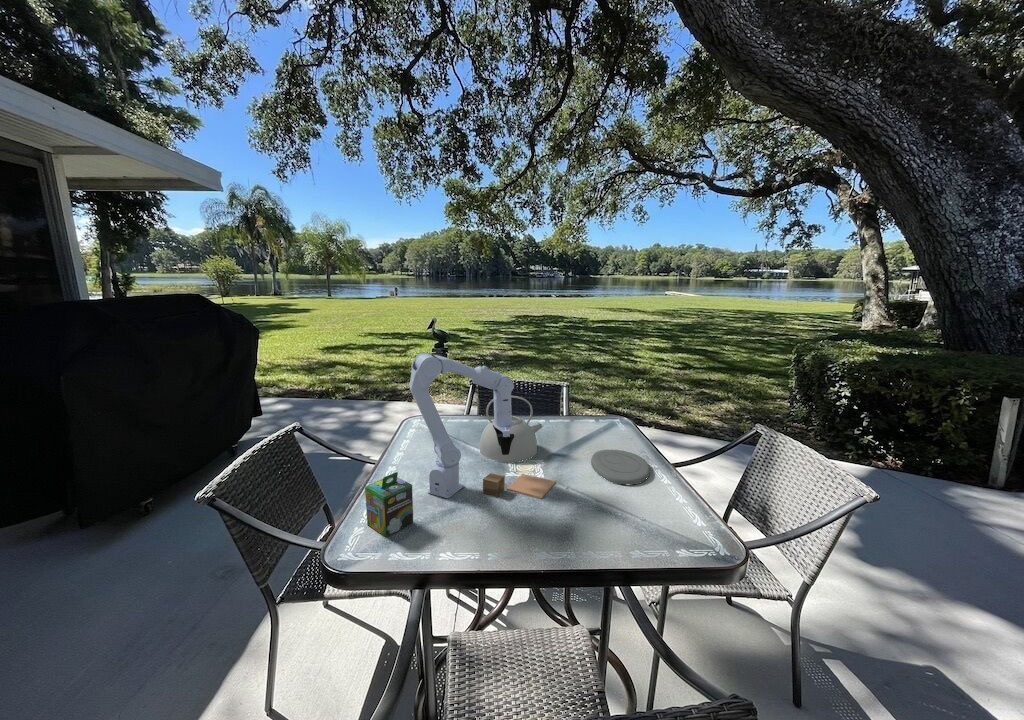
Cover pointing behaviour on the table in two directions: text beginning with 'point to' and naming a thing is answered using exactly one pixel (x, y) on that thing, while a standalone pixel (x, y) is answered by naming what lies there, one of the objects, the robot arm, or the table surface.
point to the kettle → (521, 444)
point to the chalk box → (389, 504)
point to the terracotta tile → (531, 486)
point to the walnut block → (493, 484)
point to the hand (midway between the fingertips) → (503, 449)
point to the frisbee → (620, 466)
